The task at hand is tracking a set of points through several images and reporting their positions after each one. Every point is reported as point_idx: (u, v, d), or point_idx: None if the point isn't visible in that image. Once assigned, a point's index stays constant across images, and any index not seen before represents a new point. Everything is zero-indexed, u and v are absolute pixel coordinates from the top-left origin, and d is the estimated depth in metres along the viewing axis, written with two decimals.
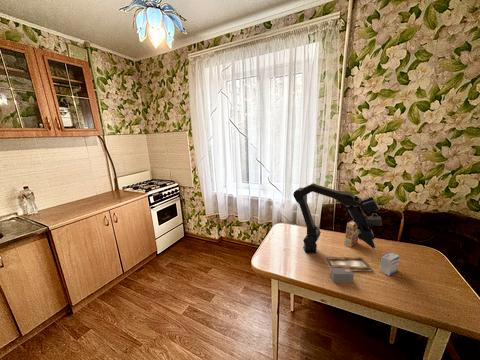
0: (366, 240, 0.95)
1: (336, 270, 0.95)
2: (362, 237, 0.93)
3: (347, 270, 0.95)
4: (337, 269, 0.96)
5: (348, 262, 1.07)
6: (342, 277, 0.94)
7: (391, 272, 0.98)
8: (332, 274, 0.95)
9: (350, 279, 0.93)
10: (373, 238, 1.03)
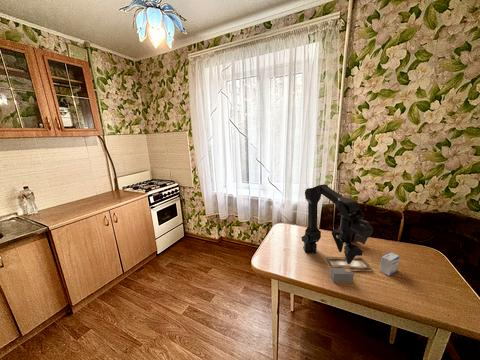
0: (348, 256, 0.86)
1: (336, 270, 0.95)
2: (352, 254, 0.82)
3: (347, 270, 0.95)
4: (337, 269, 0.96)
5: None
6: (342, 277, 0.94)
7: (391, 272, 0.98)
8: (332, 274, 0.95)
9: (350, 279, 0.93)
10: (340, 251, 0.97)
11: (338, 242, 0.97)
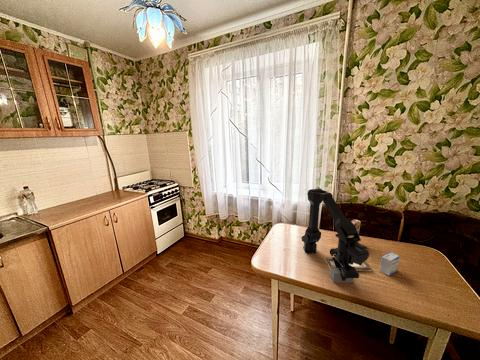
0: (343, 273, 0.91)
1: (336, 270, 0.95)
2: (349, 276, 0.85)
3: None
4: (337, 269, 0.96)
5: None
6: None
7: (391, 272, 0.98)
8: (332, 274, 0.95)
9: (350, 279, 0.93)
10: None
11: (337, 265, 0.97)
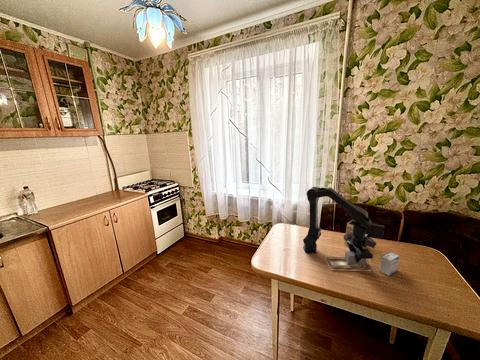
0: (357, 255, 1.00)
1: (350, 253, 1.05)
2: (363, 257, 0.94)
3: None
4: (351, 252, 1.05)
5: None
6: None
7: (391, 272, 0.98)
8: (347, 256, 1.05)
9: (363, 261, 1.03)
10: None
11: (351, 248, 1.06)
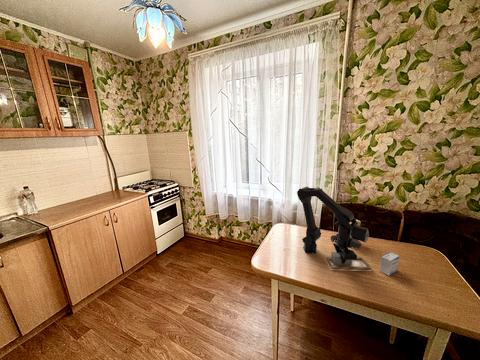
0: (342, 256, 1.01)
1: (336, 254, 1.05)
2: (348, 258, 0.95)
3: None
4: (337, 253, 1.06)
5: None
6: None
7: (391, 272, 0.98)
8: (333, 257, 1.05)
9: (349, 262, 1.04)
10: None
11: (337, 249, 1.07)
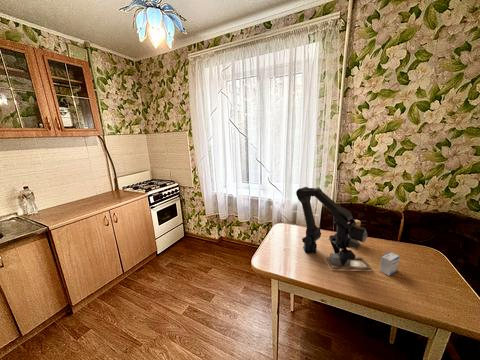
0: (342, 258, 1.00)
1: (335, 255, 1.06)
2: (346, 258, 0.95)
3: None
4: (336, 254, 1.06)
5: None
6: (340, 261, 1.04)
7: (391, 272, 0.98)
8: (331, 258, 1.06)
9: (347, 263, 1.04)
10: None
11: (335, 248, 1.09)
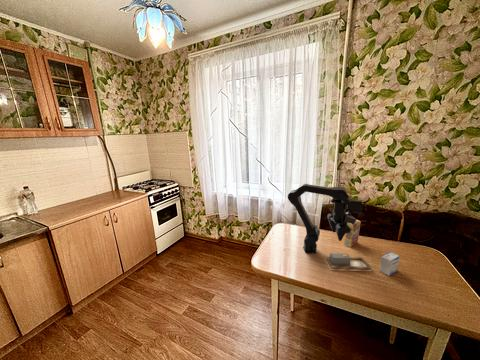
0: (339, 233, 1.04)
1: (335, 255, 1.06)
2: (342, 231, 1.00)
3: (345, 255, 1.05)
4: (336, 254, 1.06)
5: None
6: (340, 261, 1.04)
7: (391, 272, 0.98)
8: (331, 258, 1.06)
9: (347, 263, 1.04)
10: (334, 231, 1.15)
11: (332, 224, 1.14)
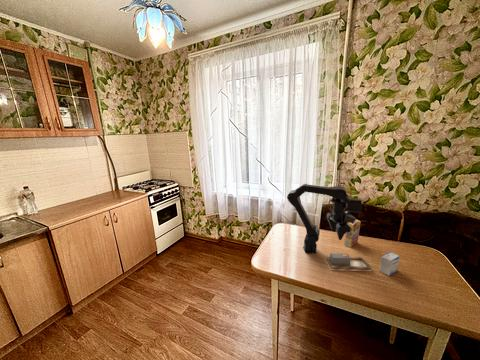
0: (339, 233, 1.04)
1: (335, 255, 1.06)
2: (342, 230, 1.00)
3: (345, 255, 1.05)
4: (336, 254, 1.06)
5: None
6: (340, 261, 1.04)
7: (391, 272, 0.98)
8: (331, 258, 1.06)
9: (347, 263, 1.04)
10: (334, 230, 1.15)
11: (331, 223, 1.15)
